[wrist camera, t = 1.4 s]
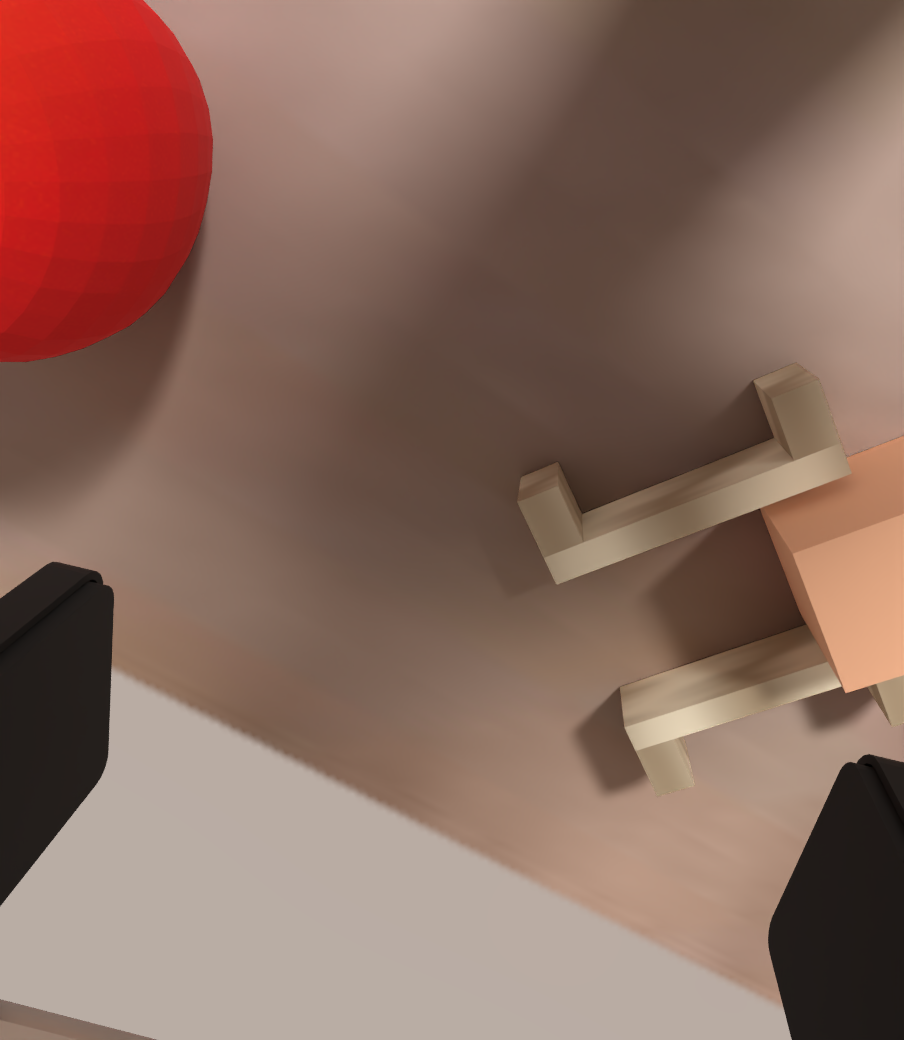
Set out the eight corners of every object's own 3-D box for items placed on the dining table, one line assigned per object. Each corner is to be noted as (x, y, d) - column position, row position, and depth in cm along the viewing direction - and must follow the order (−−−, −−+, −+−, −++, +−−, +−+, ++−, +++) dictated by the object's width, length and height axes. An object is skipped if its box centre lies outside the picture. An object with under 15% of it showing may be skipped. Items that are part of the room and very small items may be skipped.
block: (913, 431, 31) (989, 483, 26) (954, 560, 33) (1034, 634, 27) (753, 493, 33) (792, 553, 27) (800, 612, 34) (845, 693, 29)
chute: (796, 362, 31) (819, 378, 28) (905, 672, 35) (935, 714, 32) (520, 477, 34) (516, 502, 31) (650, 752, 38) (657, 796, 35)
